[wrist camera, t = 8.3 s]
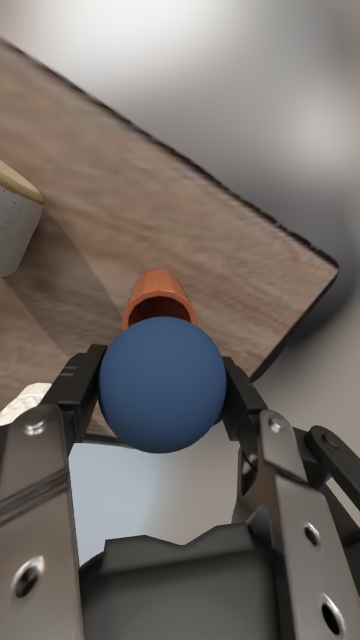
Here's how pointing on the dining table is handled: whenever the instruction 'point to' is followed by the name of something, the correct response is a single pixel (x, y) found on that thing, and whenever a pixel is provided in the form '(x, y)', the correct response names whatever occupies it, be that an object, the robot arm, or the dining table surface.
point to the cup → (157, 299)
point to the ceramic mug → (16, 217)
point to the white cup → (24, 402)
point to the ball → (161, 385)
